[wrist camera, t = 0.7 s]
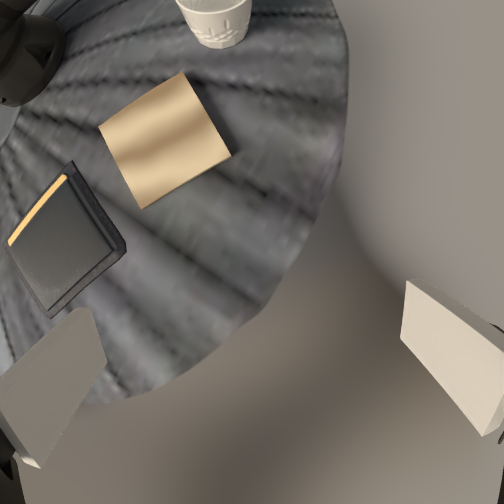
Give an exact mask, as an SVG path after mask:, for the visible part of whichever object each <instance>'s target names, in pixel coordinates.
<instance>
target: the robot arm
mask: <svg viewBox="0 0 504 504" xmlns="http://www.w3.org/2000/svg"><path fill="white" fill-rule="evenodd" d="M36 1H37V0H0V104H2V105H6V106H11V107H17V106H21V105H23V104H25V103H27V102H29V101H30V100H32V99H33V98H34V97H35V96H36V95H38V94H39V93H40V92H41V91H42V89H43V88H44V87H45V86H46V85H47V83H48V82H49V81H50V79H51V78H52V76H53V75H54V73H55V71H56V70H57V68H58V66H59V63H60V61H61V59H62V56H63V53H64V49H65V43H66V36H65V31H64V29H63V27H62V26H61V25H60V24H59V23H58V22H56V21H55V20H54V19H52V18H50V17H45V16H38V15H29V14H23V13H24V12H25V11H26V10H27V9H28V8H30V7H31V6H32V5H33V4H34V3H35V2H36ZM400 338H401V340H402V341H403V342H404V343H405V344H406V345H407V347H408V348H409V349H410V350H411V351H412V352H413V353H414V354H415V356H416V357H417V358H418V359H419V360H420V361H421V363H422V364H423V365H424V366H425V367H426V368H427V369H428V370H429V372H430V373H431V374H432V375H433V376H434V378H435V379H436V380H437V381H438V382H439V384H440V385H441V386H442V387H443V388H444V390H445V391H446V392H447V393H448V394H449V396H450V397H451V398H452V399H453V401H454V402H455V403H456V404H457V405H458V407H459V408H460V409H461V410H462V411H463V413H464V414H465V415H466V417H467V418H468V419H469V420H470V422H471V423H472V424H473V426H474V427H475V428H476V429H477V431H478V432H479V433H480V434H481V436H484V435H486V434H488V433H490V432H491V431H493V430H495V429H497V428H498V427H499V426H500V424H501V422H502V419H503V418H504V331H503V330H502V329H500V328H499V327H497V326H496V325H493V324H491V323H488V322H487V321H485V320H484V319H482V318H481V317H480V316H478V315H477V314H475V313H474V312H472V311H471V310H470V309H468V308H467V307H465V306H464V305H462V304H461V303H459V302H458V301H456V300H455V299H453V298H451V297H450V296H449V295H447V294H446V293H444V292H443V291H441V290H439V289H438V288H436V287H435V286H433V285H432V284H430V283H429V282H427V281H425V280H424V279H422V278H418V279H411V280H407V282H406V294H405V304H404V313H403V322H402V328H401V335H400ZM106 364H107V360H106V357H105V354H104V351H103V348H102V345H101V342H100V339H99V335H98V332H97V329H96V325H95V322H94V319H93V315H92V311H91V308H90V307H76V308H75V309H74V310H73V311H72V312H70V313H69V314H68V315H67V316H66V317H65V318H64V319H62V320H61V321H60V322H59V323H58V324H57V325H56V326H55V327H53V328H52V329H51V330H50V331H49V332H48V333H47V334H46V335H45V336H43V337H42V338H41V339H40V340H39V341H38V342H37V343H36V344H35V345H34V346H33V347H32V348H30V349H29V350H28V351H27V352H26V353H25V354H24V355H23V356H22V357H21V358H20V359H19V360H18V361H17V362H16V363H15V364H14V365H13V366H12V367H11V368H9V369H8V370H7V371H6V372H5V373H4V374H3V375H2V376H1V377H0V504H26V503H25V499H24V495H23V491H22V487H21V482H20V477H19V472H18V466H17V463H16V460H15V459H14V458H13V456H12V455H13V454H14V452H15V451H16V452H17V453H18V454H19V455H20V457H21V458H22V459H23V461H24V462H25V463H27V464H30V465H32V466H35V467H37V468H42V467H43V465H44V463H45V461H46V460H47V457H48V456H49V454H50V453H51V451H52V449H53V448H54V446H55V444H56V442H57V441H58V439H59V437H60V436H61V434H62V433H63V431H64V429H65V428H66V426H67V424H68V423H69V421H70V420H71V418H72V416H73V415H74V413H75V412H76V410H77V408H78V407H79V405H80V404H81V402H82V400H83V399H84V397H85V396H86V394H87V393H88V391H89V390H90V388H91V386H92V385H93V383H94V382H95V380H96V379H97V377H98V376H99V374H100V373H101V371H102V370H103V368H104V367H105V365H106ZM503 439H504V432H503V433H502V435H501V437H500V438H499V441H498V444H501V442H502V440H503ZM497 504H504V469H503V475H502V482H501V488H500V493H499V498H498V503H497Z"/></svg>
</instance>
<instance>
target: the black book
mask: <svg viewBox="0 0 504 504" xmlns="http://www.w3.org/2000/svg"><path fill="white" fill-rule="evenodd" d="M3 246H4V248H5V250H6V252H7V254H8V256H9V258H10V260H11V262H12V264H13V266H14V267H15V269H16V271H17V273H18V274H19V276H20V278H21V279H22V281H23V283H24V284H25V286H26V288H27V289H28V291H29V292H30V294H31V295H32V297H33V298H34V300H35V302H36V303H37V305H38V306H39V307H40V309H41V310H42V312H43V313H44V314H45V315H46V316H47V317H48V318H49V319H52V318H53V317H54V316H55V315H56V314H57V313H59V312H60V311H61V310H62V309H63V308H64V307H65V306H66V305H67V304H68V303H69V302H70V301H71V300H72V299H73V298H74V297H75V296H76V295H78V294H79V293H80V292H81V291H82V290H83V289H84V288H85V287H86V286H88V285H89V284H90V283H91V282H92V281H93V280H95V279H96V278H97V277H98V276H99V275H101V274H102V273H103V272H104V271H106V270H107V269H108V268H109V267H111V266H112V265H113V264H114V263H116V262H117V261H118V260H119V259H120V258H121V257H122V256H123V255H124V254H125V253H126V252H127V250H126V242H125V241H124V239H123V238H122V236H121V235H120V233H119V231H118V230H117V229H116V227H115V226H114V224H113V223H112V221H111V220H110V219H109V217H108V216H107V214H106V213H105V211H104V210H103V208H102V207H101V206H100V204H99V203H98V201H97V199H96V198H95V196H94V195H93V193H92V191H91V190H90V188H89V187H88V185H87V183H86V182H85V180H84V178H83V177H82V175H81V174H80V172H79V171H78V169H77V167H76V166H75V164H74V162H73V161H71V162H70V163H69V164H68V165H67V166H66V167H65V168H64V169H63V170H62V171H61V172H60V173H59V174H58V175H57V177H56V178H55V179H54V180H53V181H52V183H51V184H50V185H49V186H48V187H47V188H46V189H45V191H44V192H43V193H42V194H41V195H40V196H39V198H38V199H37V200H36V201H35V202H34V204H33V205H32V206H31V207H30V209H29V210H28V211H27V212H26V214H25V215H24V216H23V218H22V219H21V220H20V221H19V223H18V224H17V225H16V227H15V228H14V230H13V231H12V232H11V234H10V235H9V236H8V238H7V239H6V241H5V242H4V244H3Z"/></svg>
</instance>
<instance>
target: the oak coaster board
mask: <svg viewBox="0 0 504 504" xmlns="http://www.w3.org/2000/svg"><path fill="white" fill-rule="evenodd" d="M99 129H100V131H101V133H102V135H103V137H104V139H105V141H106V143H107V145H108V147H109V149H110V151H111V153H112V155H113V157H114V159H115V161H116V163H117V165H118V167H119V169H120V171H121V173H122V175H123V177H124V179H125V180H126V182H127V184H128V186H129V188H130V190H131V192H132V194H133V195H134V197H135V199H136V201H137V203H138V205H139V206H140V208H141V209H145V208H147V207H148V206H150V205H151V204H153V203H154V202H156V201H158V200H159V199H161V198H162V197H164V196H166V195H167V194H169V193H170V192H172V191H174V190H175V189H177V188H179V187H180V186H182V185H184V184H185V183H187V182H189V181H190V180H192V179H194V178H195V177H197V176H199V175H200V174H202V173H204V172H206V171H207V170H209V169H211V168H213V167H214V166H216V165H218V164H220V163H221V162H223V161H225V160H227V159H229V158H230V157H232V156H231V154H230V153H229V151H228V149H227V147H226V146H225V144H224V142H223V140H222V139H221V137H220V135H219V133H218V132H217V130H216V128H215V126H214V125H213V123H212V121H211V119H210V118H209V116H208V114H207V113H206V111H205V109H204V107H203V106H202V104H201V102H200V101H199V99H198V97H197V96H196V94H195V92H194V90H193V89H192V87H191V85H190V84H189V82H188V80H187V79H186V77H185V75H184V74H183V72H181V73H179V74H177V75H176V76H174V77H172V78H170V79H169V80H167V81H165V82H164V83H162V84H160V85H159V86H157V87H155V88H154V89H152V90H151V91H149V92H147V93H146V94H144V95H143V96H141V97H140V98H138V99H137V100H135V101H134V102H132V103H131V104H129V105H128V106H126V107H125V108H124V109H122V110H121V111H119V112H118V113H116V114H115V115H114V116H112V117H111V118H110V119H108V120H107V121H106V122H104V123H103V124H102V125H100V126H99Z"/></svg>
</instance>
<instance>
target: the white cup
mask: <svg viewBox="0 0 504 504" xmlns="http://www.w3.org/2000/svg"><path fill="white" fill-rule="evenodd" d="M252 1H253V0H176V2H177V4H178V6H179V8H180V10H181V12H182V14H183V16H184V18H185V20H186V22H187V23H188V25H189V27H190V29H191V30H192V32H193V33H194V35H195V37H196V38H197V39H198V41H199V42H200V43H201V44H203V45H205V46H207V47H209V48H217V49H224V48H227V47H231V46H234V45H236V44H237V43H238V42H240V41H241V40H242V39H243V38H244V37H245V35H246V33H247V30H248V24H249V20H250V14H251V9H252Z"/></svg>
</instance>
